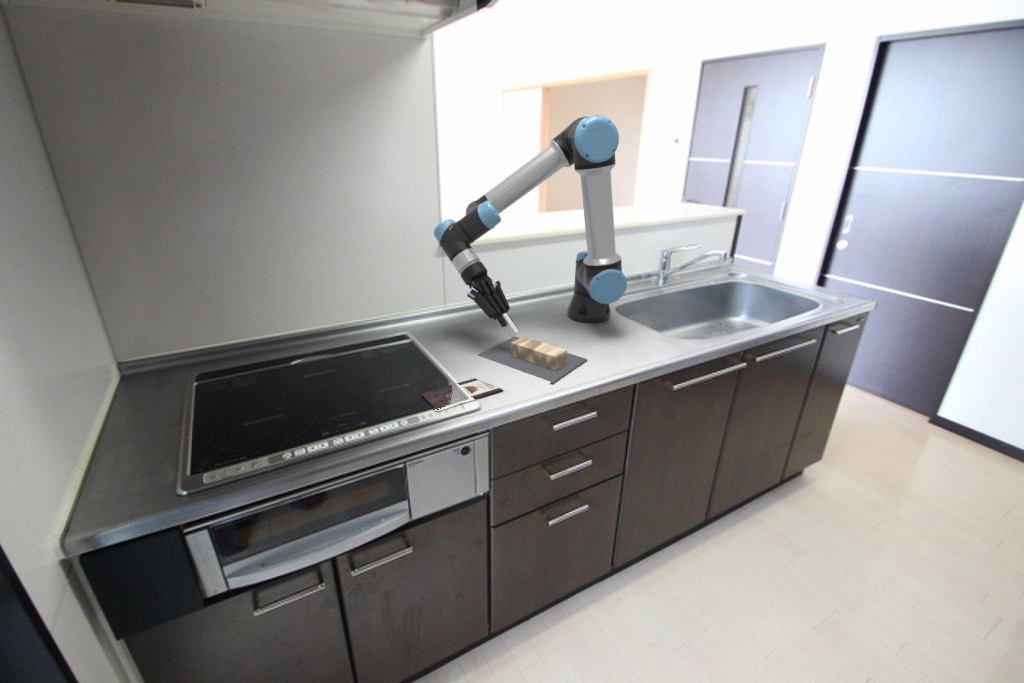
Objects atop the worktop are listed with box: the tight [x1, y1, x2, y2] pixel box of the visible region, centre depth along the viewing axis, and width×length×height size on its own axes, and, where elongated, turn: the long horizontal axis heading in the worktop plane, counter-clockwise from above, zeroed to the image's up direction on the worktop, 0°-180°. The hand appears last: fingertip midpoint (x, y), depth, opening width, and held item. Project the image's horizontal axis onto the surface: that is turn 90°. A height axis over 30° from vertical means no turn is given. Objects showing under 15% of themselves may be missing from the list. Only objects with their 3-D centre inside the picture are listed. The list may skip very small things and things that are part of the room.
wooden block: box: [511, 335, 568, 370], centre depth 134 cm, size 4×6×15 cm
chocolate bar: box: [420, 377, 504, 410], centre depth 118 cm, size 9×1×18 cm
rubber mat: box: [477, 335, 588, 385], centre depth 137 cm, size 26×18×1 cm
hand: (514, 334), depth 138 cm, fingers closed
